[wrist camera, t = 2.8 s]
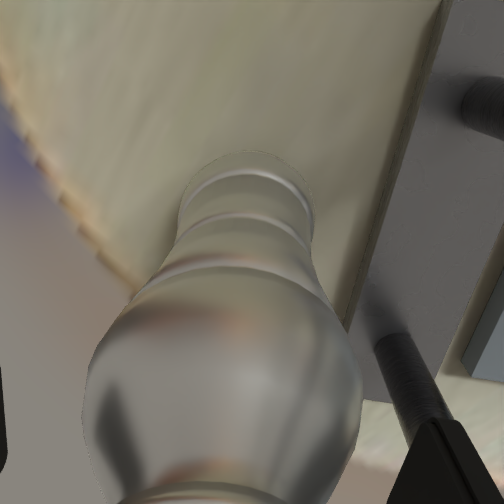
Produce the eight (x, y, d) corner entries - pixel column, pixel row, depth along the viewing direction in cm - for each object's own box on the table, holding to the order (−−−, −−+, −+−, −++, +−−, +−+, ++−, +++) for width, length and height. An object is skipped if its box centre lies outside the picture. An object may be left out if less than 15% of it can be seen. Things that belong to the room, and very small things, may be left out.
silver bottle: (333, 214, 24) (560, 748, 6) (234, 277, 25) (160, 838, 7) (263, 114, 22) (260, 446, 3) (161, 192, 23) (-194, 677, 5)
